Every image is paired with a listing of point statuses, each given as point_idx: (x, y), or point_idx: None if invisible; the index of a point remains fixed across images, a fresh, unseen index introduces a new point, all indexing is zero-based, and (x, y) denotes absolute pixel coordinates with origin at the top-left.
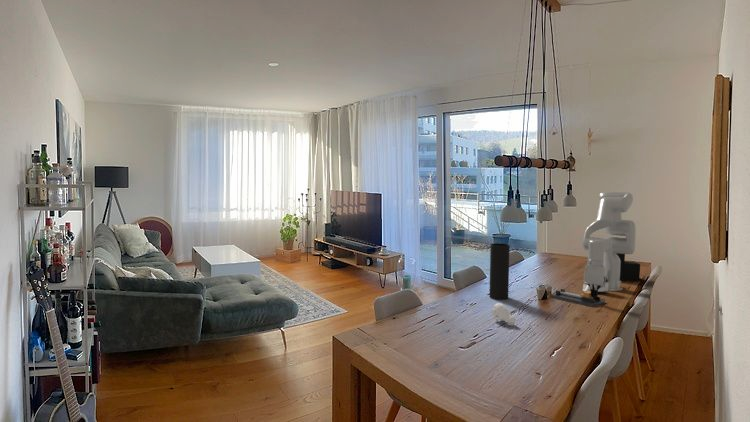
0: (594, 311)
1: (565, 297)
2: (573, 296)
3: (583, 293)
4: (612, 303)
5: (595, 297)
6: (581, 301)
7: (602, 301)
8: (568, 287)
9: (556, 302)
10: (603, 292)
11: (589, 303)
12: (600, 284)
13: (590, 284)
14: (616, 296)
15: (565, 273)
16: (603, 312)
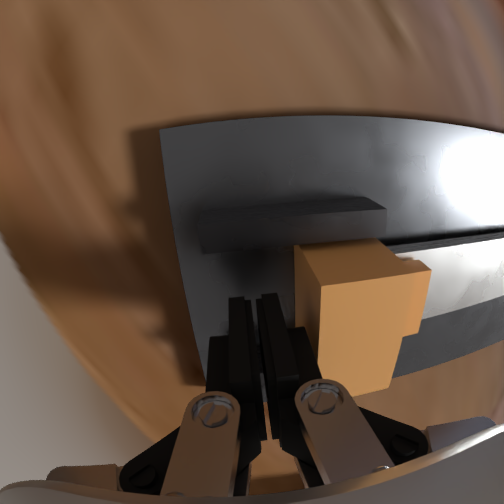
0: (73, 16)
1: (500, 157)
2: (468, 237)
3: (401, 264)
4: (166, 401)
5: None
6: (335, 129)
7: (203, 361)
8: (489, 415)
9: (476, 21)
10: None
11: (210, 127)
12: (5, 491)
13: (368, 466)
14: (261, 490)
15: None
16: (14, 76)
